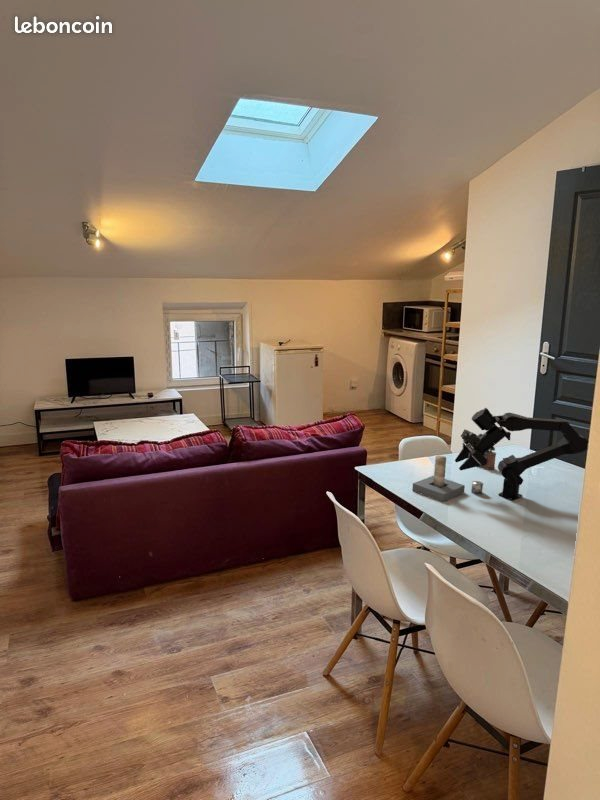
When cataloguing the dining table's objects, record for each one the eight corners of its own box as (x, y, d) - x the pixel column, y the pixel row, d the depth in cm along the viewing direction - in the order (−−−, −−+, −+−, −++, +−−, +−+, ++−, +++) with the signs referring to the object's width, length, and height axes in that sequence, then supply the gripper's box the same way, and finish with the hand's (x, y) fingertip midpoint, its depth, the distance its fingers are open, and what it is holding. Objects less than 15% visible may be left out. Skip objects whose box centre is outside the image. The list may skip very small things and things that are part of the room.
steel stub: (474, 489, 206) (475, 480, 205) (484, 492, 203) (485, 483, 202) (469, 492, 203) (470, 482, 202) (478, 495, 200) (479, 485, 200)
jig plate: (433, 482, 213) (434, 475, 212) (464, 492, 203) (464, 485, 202) (412, 490, 204) (412, 483, 203) (443, 501, 194) (443, 494, 193)
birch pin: (433, 489, 206) (435, 455, 203) (443, 490, 205) (446, 456, 202) (432, 492, 202) (435, 458, 199) (443, 494, 201) (446, 459, 198)
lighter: (474, 467, 232) (476, 445, 230) (477, 464, 235) (479, 443, 233) (493, 470, 228) (495, 448, 226) (495, 468, 231) (497, 446, 228)
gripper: (470, 417, 205) (439, 443, 209) (480, 430, 187) (447, 458, 191) (489, 437, 206) (458, 463, 210) (501, 452, 188) (467, 479, 191)
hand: (457, 465), depth 200 cm, fingers open, 9 cm apart
